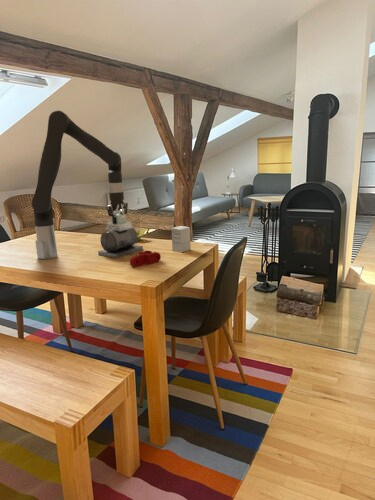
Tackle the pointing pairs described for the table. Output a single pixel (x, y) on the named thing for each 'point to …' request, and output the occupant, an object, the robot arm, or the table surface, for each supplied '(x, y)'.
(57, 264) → the table surface
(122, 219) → the pale green block
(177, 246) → the supplement box
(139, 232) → the plastic component
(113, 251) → the motor
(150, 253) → the mechanical linkage
